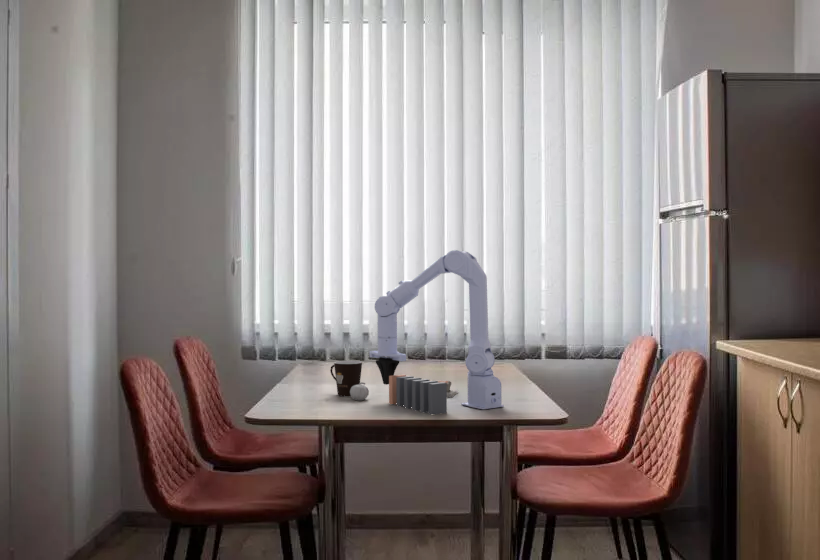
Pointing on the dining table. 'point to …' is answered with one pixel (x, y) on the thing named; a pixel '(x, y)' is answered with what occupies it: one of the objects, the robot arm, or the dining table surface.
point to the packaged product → (448, 388)
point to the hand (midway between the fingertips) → (387, 384)
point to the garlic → (359, 391)
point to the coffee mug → (346, 375)
